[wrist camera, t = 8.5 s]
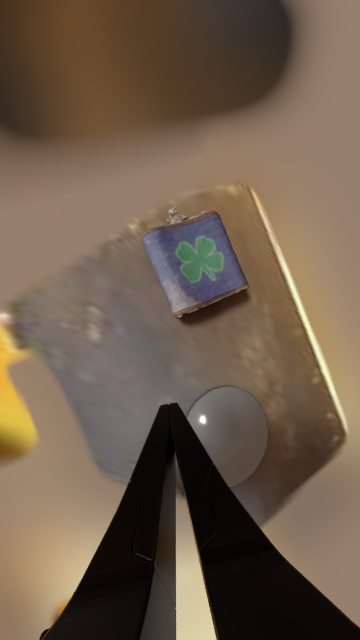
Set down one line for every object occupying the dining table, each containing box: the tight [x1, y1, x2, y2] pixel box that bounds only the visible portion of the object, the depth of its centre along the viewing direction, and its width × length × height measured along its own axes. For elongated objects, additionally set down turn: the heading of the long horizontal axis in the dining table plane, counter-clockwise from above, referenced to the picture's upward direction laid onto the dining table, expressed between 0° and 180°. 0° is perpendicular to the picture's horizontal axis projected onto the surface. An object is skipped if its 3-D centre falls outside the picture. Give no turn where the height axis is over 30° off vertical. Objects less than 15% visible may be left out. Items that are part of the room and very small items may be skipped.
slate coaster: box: [186, 386, 268, 487], centre depth 20 cm, size 10×10×1 cm
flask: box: [141, 207, 249, 319], centre depth 20 cm, size 9×3×11 cm
